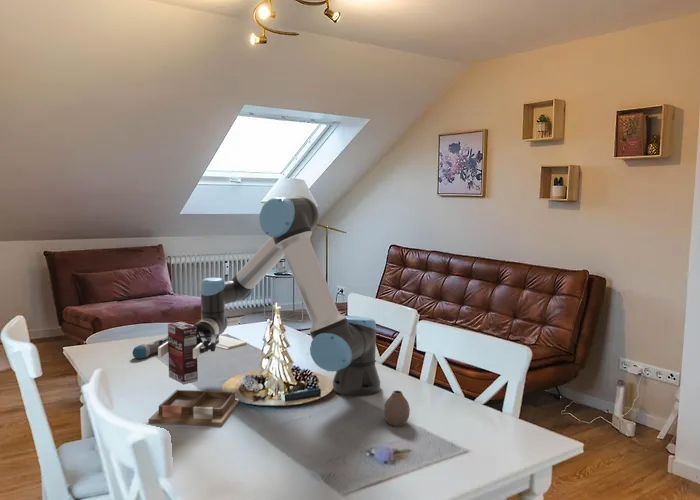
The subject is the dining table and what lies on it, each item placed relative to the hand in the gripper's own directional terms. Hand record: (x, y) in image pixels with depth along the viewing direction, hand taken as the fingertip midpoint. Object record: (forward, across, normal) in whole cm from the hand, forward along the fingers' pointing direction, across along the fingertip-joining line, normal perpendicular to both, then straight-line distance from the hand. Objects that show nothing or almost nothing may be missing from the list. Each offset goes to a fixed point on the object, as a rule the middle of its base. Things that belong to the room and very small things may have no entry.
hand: (176, 353), depth 159 cm
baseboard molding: (-77, +16, -18) cm, 81 cm away
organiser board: (-3, -4, -18) cm, 18 cm away
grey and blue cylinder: (-58, +30, -18) cm, 68 cm away
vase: (-1, -61, -18) cm, 63 cm away
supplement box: (-4, 0, -9) cm, 10 cm away
